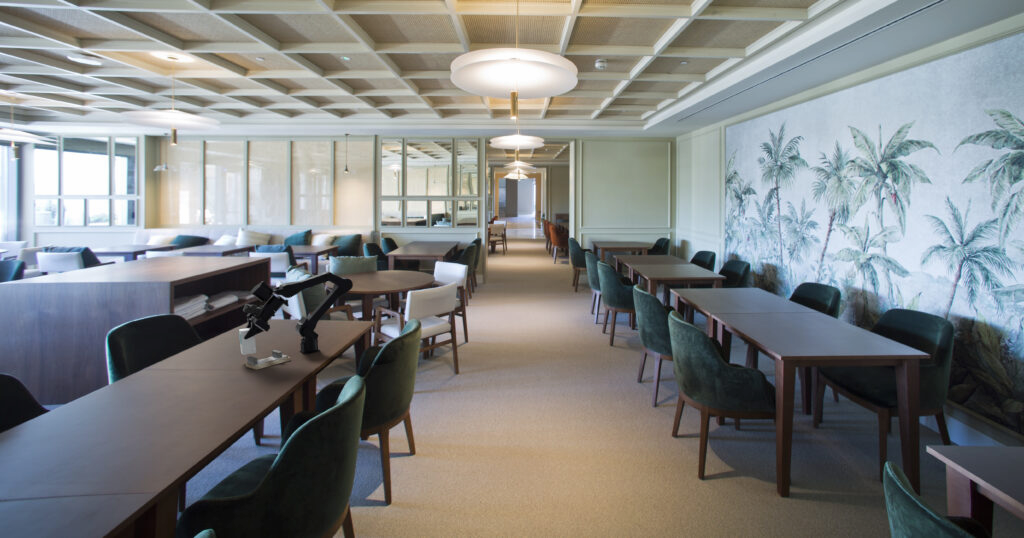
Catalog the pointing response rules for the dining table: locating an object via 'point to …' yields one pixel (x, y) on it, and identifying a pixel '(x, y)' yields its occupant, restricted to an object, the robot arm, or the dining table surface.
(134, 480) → the dining table surface
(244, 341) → the block
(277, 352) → the rail board
